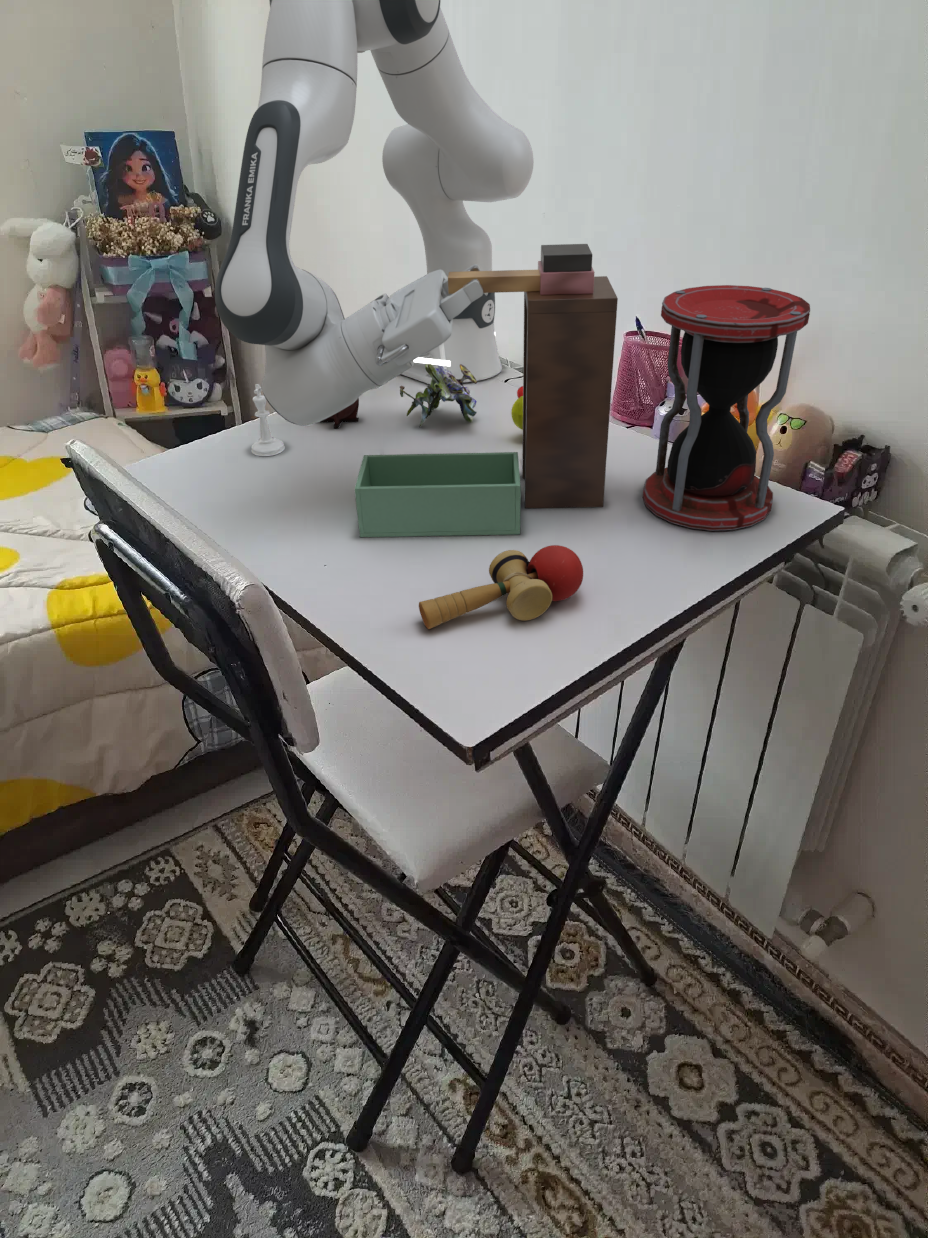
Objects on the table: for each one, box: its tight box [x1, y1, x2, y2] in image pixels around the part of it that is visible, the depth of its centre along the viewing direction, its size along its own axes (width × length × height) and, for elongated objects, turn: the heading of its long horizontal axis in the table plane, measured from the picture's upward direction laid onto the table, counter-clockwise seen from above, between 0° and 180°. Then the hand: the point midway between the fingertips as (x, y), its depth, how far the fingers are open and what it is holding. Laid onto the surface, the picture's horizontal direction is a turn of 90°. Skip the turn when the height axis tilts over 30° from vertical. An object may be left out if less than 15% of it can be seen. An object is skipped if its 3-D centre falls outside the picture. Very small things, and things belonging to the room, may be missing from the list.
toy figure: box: [510, 385, 523, 431], centre depth 127 cm, size 18×6×7 cm, turn 0°
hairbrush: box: [448, 243, 595, 295], centre depth 99 cm, size 16×6×4 cm, turn 89°
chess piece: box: [251, 383, 286, 457], centre depth 126 cm, size 5×5×10 cm
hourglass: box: [641, 284, 811, 532], centre depth 104 cm, size 16×16×25 cm
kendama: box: [418, 544, 584, 630], centre depth 90 cm, size 8×6×18 cm
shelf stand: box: [521, 275, 619, 509], centre depth 107 cm, size 10×10×26 cm
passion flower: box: [399, 364, 478, 428], centre depth 133 cm, size 11×11×12 cm
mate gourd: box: [319, 397, 360, 430], centre depth 132 cm, size 8×8×15 cm
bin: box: [354, 451, 522, 538], centre depth 107 cm, size 20×10×7 cm, turn 89°
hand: (480, 277), depth 99 cm, fingers open, 5 cm apart
